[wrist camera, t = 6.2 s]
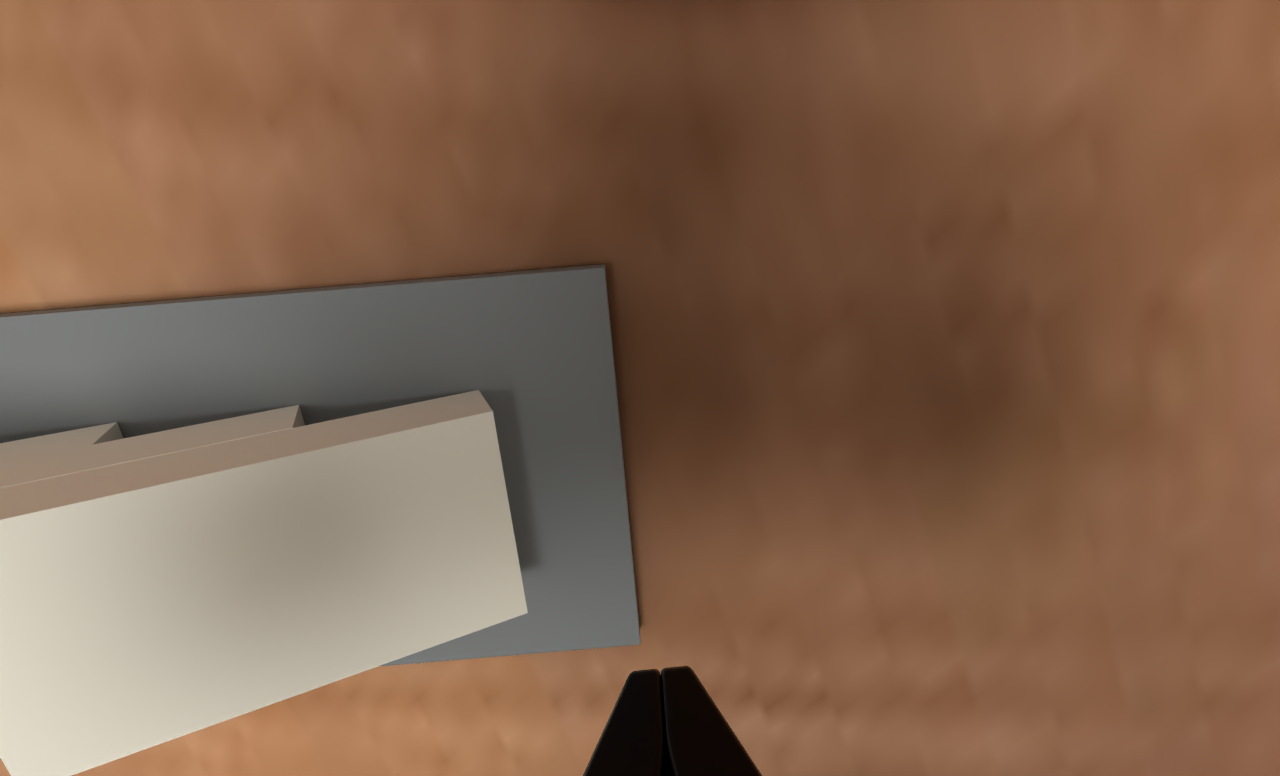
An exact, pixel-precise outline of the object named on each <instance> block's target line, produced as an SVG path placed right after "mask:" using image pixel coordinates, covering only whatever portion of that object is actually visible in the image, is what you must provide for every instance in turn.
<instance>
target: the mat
mask: <svg viewBox="0 0 1280 776" xmlns="http://www.w3.org/2000/svg"><path fill="white" fill-rule="evenodd" d="M475 390H479V391H480V393H481V394H482V396H483V397H484V399H485V400H486V402H487V403H488V405H489V406H490V408H491V409H492V411H493V415H494V421H495V427H496V432H497V438H498V444H499V450H500V455H501V461H502V467H503V473H504V479H505V484H506V490H507V496H508V502H509V507H510V513H511V519H512V525H513V530H514V536H515V542H516V548H517V553H518V559H519V565H520V571H521V576H522V582H523V588H524V594H525V600H526V605H527V611H528V613H526V614H523V615H521V616H518V617H515V618H512V619H509V620H507V621H504V622H501V623H498V624H495V625H493V626H490V627H487V628H484V629H481V630H479V631H476V632H473V633H470V634H467V635H465V636H462V637H459V638H456V639H453V640H450V641H448V642H445V643H442V644H439V645H436V646H434V647H431V648H428V649H425V650H422V651H420V652H417V653H414V654H411V655H408V656H406V657H403V658H400V659H397V660H394V661H392V662H389V663H386V664H383V665H380V666H388V665H400V664H412V663H424V662H436V661H448V660H460V659H472V658H484V657H496V656H508V655H520V654H532V653H544V652H556V651H568V650H580V649H592V648H604V647H616V646H628V645H640V626H639V615H638V605H637V594H636V584H635V574H634V563H633V553H632V542H631V532H630V522H629V511H628V501H627V490H626V480H625V469H624V459H623V449H622V438H621V428H620V417H619V407H618V397H617V386H616V376H615V365H614V355H613V345H612V334H611V324H610V313H609V303H608V292H607V282H606V272H605V264H599V265H587V266H575V267H563V268H551V269H538V270H526V271H514V272H502V273H490V274H478V275H466V276H454V277H442V278H429V279H417V280H405V281H393V282H381V283H369V284H357V285H345V286H332V287H320V288H308V289H296V290H284V291H272V292H260V293H248V294H235V295H223V296H211V297H199V298H187V299H175V300H163V301H151V302H138V303H126V304H114V305H102V306H90V307H78V308H66V309H54V310H42V311H29V312H17V313H5V314H0V443H5V442H10V441H16V440H21V439H27V438H32V437H38V436H43V435H49V434H54V433H59V432H65V431H70V430H76V429H81V428H87V427H92V426H98V425H103V424H109V423H114V422H117V423H118V426H119V428H120V431H121V433H122V436H123V438H129V437H134V436H139V435H144V434H150V433H155V432H160V431H165V430H170V429H176V428H181V427H186V426H191V425H196V424H201V423H207V422H212V421H217V420H222V419H227V418H233V417H238V416H243V415H248V414H253V413H258V412H264V411H269V410H274V409H279V408H284V407H290V406H295V405H299V406H300V410H301V413H302V416H303V420H304V423H305V425H310V424H315V423H320V422H325V421H329V420H334V419H339V418H344V417H349V416H354V415H359V414H363V413H368V412H373V411H378V410H383V409H388V408H393V407H398V406H402V405H407V404H412V403H417V402H422V401H427V400H432V399H436V398H441V397H446V396H451V395H456V394H461V393H466V392H470V391H475Z"/></svg>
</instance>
